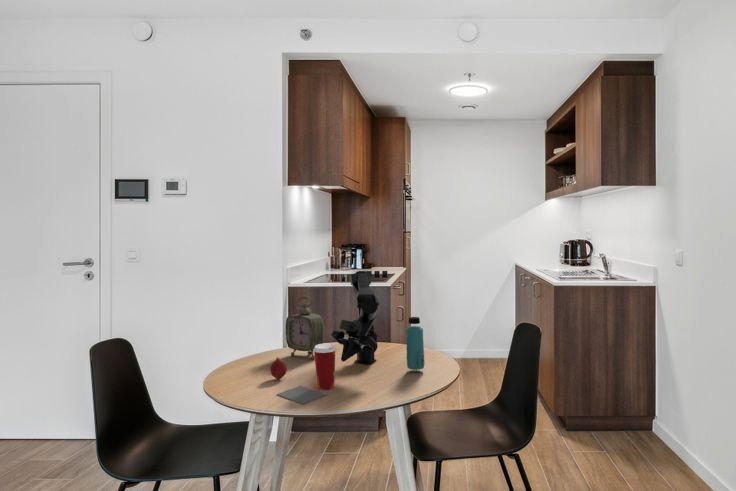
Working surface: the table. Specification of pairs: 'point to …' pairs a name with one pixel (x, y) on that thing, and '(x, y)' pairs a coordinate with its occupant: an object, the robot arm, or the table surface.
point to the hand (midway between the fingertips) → (342, 360)
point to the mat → (301, 394)
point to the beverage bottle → (415, 345)
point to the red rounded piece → (278, 369)
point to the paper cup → (325, 365)
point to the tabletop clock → (304, 330)
